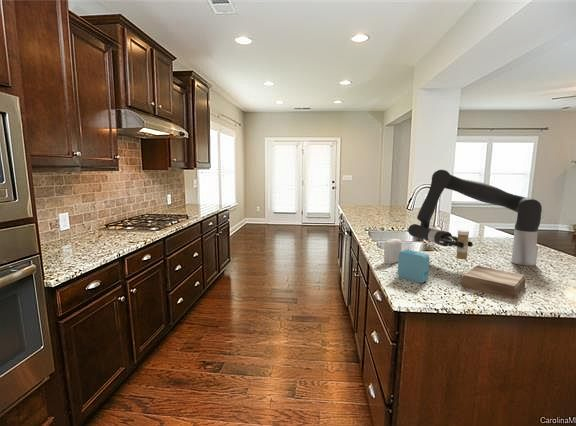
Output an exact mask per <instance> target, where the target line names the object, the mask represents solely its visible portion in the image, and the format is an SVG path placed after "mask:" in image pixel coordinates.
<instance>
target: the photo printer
mask: <svg viewBox="0 0 576 426" xmlns="http://www.w3.org/2000/svg"><path fill="white" fill-rule="evenodd" d="M383 246H384V247H383V250H384V251H383V262H384V264H386V265H390V264H395V263H398V256H399V252H401V251H402V241H401V239H398V238H390V239H388V240H386V241H385V243H384V245H383Z"/></svg>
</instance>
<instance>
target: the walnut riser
mask: <svg viewBox="0 0 576 426" xmlns="http://www.w3.org/2000/svg"><path fill="white" fill-rule="evenodd" d="M525 285H526V275H524V274H522V273H521V274H520V273H515V272H510V271H506V270H500V269H495V268H490V267H485V266H480V265H476V266H474V267H472V269H470V270H468V271H466V272H465V273H464V274H463V275H462V276H461V285H460V286H461V288H462V287H463V288H466V289H470V290H474V291H478V292H481V293H482V292H483V293H486V294H490V295H494V296H499V297H501V298H502V297H503V298H506V299H510V300H514V301H515V300H516V298H517V297H518V296H519V295H520V294H521V292H522V291H523V289H524V288H525Z"/></svg>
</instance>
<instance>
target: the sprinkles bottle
mask: <svg viewBox="0 0 576 426" xmlns="http://www.w3.org/2000/svg"><path fill="white" fill-rule="evenodd" d="M469 236H470V231H469V230H467V229H458V230H457V237H458V242H462V243H464V247H463V248H461V247H457V246H456V257H455V258H456V259H459V260H467V259H468V248H469V246H468V241H469Z"/></svg>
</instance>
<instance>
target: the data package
mask: <svg viewBox="0 0 576 426" xmlns="http://www.w3.org/2000/svg"><path fill="white" fill-rule="evenodd" d="M429 270H430V256H429V254H427V253H424V252H423V253H422V252H419V251H414V250H409V249H405V250H401V252H399V256H398V262H397V276H398V277H399V278H400V279H401V278H402V279H406V280H408V281H411V282H415V283H419V284H423V283H425V282H427V281H428V280H429V274H430V271H429Z"/></svg>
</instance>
